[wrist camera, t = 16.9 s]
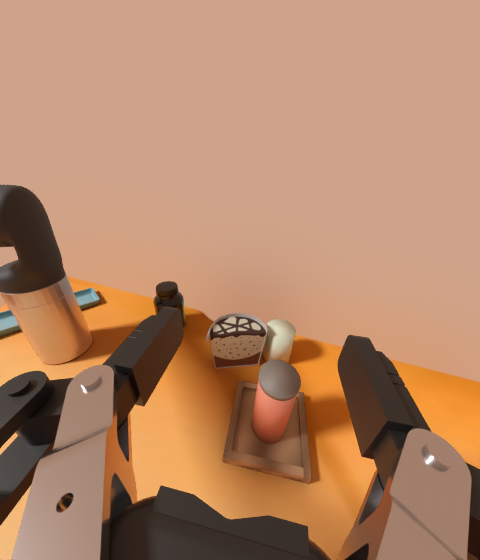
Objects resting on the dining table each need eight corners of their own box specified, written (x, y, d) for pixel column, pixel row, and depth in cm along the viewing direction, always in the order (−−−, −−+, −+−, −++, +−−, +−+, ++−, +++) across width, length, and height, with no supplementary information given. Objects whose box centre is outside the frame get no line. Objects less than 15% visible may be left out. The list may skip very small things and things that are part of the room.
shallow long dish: (94, 292, 66) (91, 285, 65) (102, 305, 61) (99, 298, 60) (-31, 330, 50) (-37, 322, 49) (-35, 352, 44) (-43, 343, 43)
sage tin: (261, 363, 44) (265, 336, 40) (263, 343, 50) (267, 317, 46) (289, 368, 44) (296, 341, 40) (289, 347, 49) (294, 321, 45)
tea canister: (248, 438, 31) (256, 391, 25) (253, 403, 36) (261, 356, 30) (285, 448, 30) (301, 401, 25) (285, 410, 35) (299, 364, 29)
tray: (223, 462, 29) (223, 457, 29) (238, 385, 40) (238, 380, 39) (309, 483, 28) (311, 479, 27) (301, 397, 38) (303, 392, 37)
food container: (259, 343, 50) (263, 310, 45) (265, 364, 44) (270, 329, 39) (207, 346, 48) (206, 312, 43) (207, 369, 43) (205, 333, 38)
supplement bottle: (191, 321, 55) (187, 283, 49) (174, 338, 50) (168, 297, 44) (171, 314, 58) (165, 276, 52) (152, 329, 52) (144, 289, 46)
